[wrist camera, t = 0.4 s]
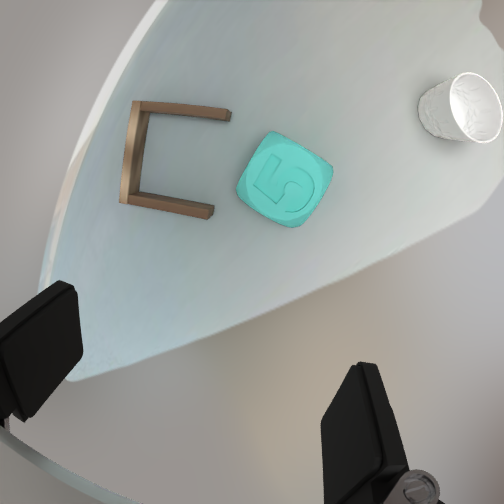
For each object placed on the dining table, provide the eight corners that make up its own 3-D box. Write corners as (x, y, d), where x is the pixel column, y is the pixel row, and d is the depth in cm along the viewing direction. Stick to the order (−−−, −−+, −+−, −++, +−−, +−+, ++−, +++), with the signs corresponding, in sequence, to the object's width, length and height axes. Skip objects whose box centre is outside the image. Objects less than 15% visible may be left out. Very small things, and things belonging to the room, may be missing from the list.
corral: (144, 103, 35) (132, 100, 32) (231, 112, 35) (226, 109, 32) (130, 198, 40) (119, 202, 37) (213, 214, 39) (206, 220, 36)
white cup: (411, 135, 33) (448, 132, 24) (414, 79, 30) (449, 62, 21) (459, 147, 32) (501, 151, 23) (461, 94, 30) (502, 85, 20)
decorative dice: (272, 132, 35) (269, 127, 28) (328, 166, 36) (339, 169, 28) (241, 187, 38) (229, 196, 30) (295, 219, 39) (297, 236, 31)
